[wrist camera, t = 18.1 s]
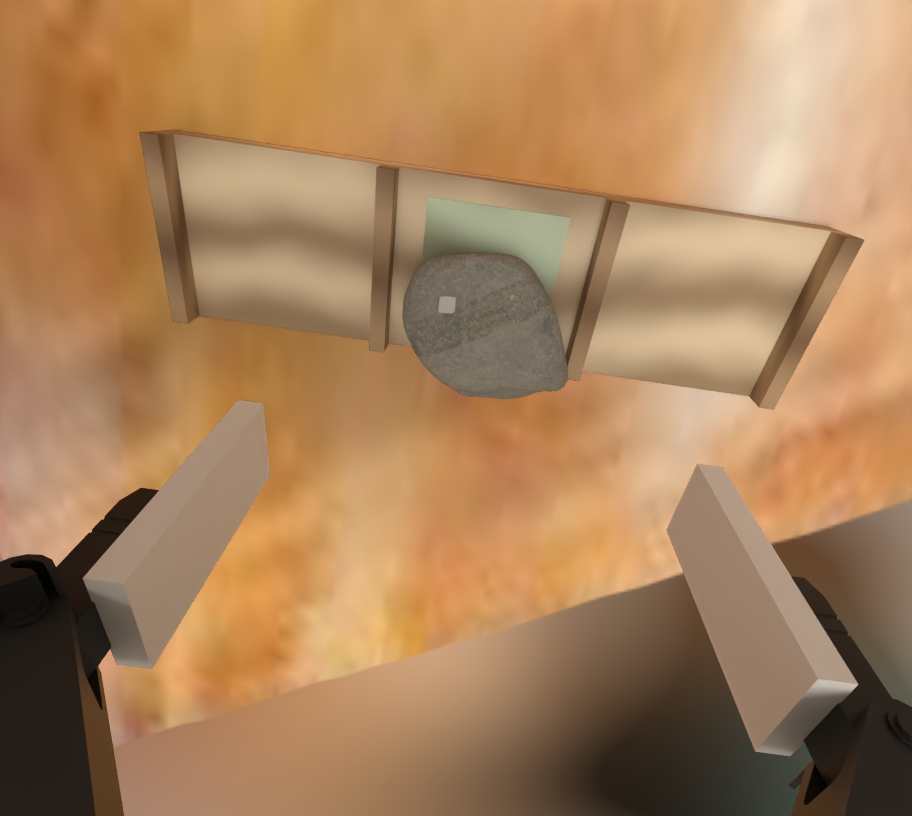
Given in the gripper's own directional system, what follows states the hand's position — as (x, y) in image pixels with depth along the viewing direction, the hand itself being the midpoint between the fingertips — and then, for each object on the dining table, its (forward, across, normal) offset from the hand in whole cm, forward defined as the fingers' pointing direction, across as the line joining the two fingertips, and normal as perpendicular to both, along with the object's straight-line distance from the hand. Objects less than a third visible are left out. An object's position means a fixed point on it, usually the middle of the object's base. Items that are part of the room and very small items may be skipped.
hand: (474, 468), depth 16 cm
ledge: (+21, 0, 0) cm, 21 cm away
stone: (+19, +1, -2) cm, 19 cm away
